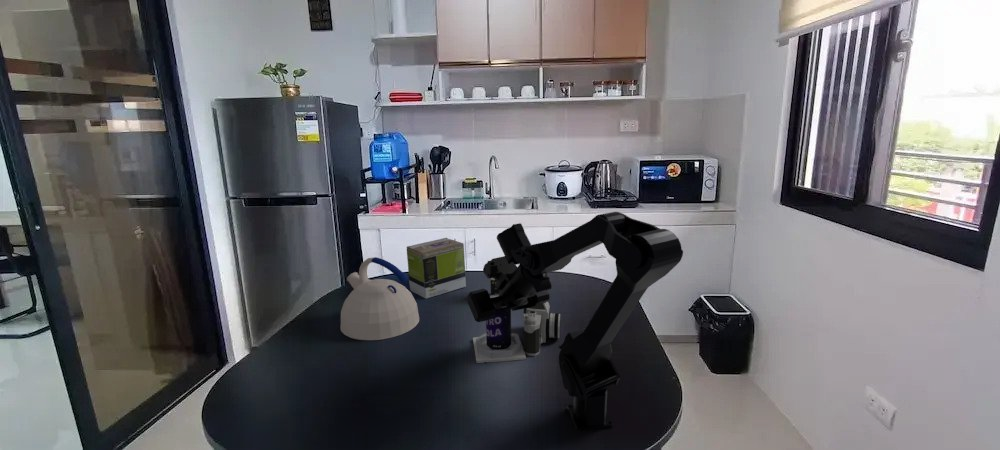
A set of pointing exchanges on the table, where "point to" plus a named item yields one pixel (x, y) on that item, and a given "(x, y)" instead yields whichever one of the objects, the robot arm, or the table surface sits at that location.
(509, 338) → the beverage can
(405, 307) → the kettle
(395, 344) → the table surface
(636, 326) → the table surface
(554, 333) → the camera
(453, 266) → the tea box
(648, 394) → the table surface
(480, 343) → the mount
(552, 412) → the table surface
